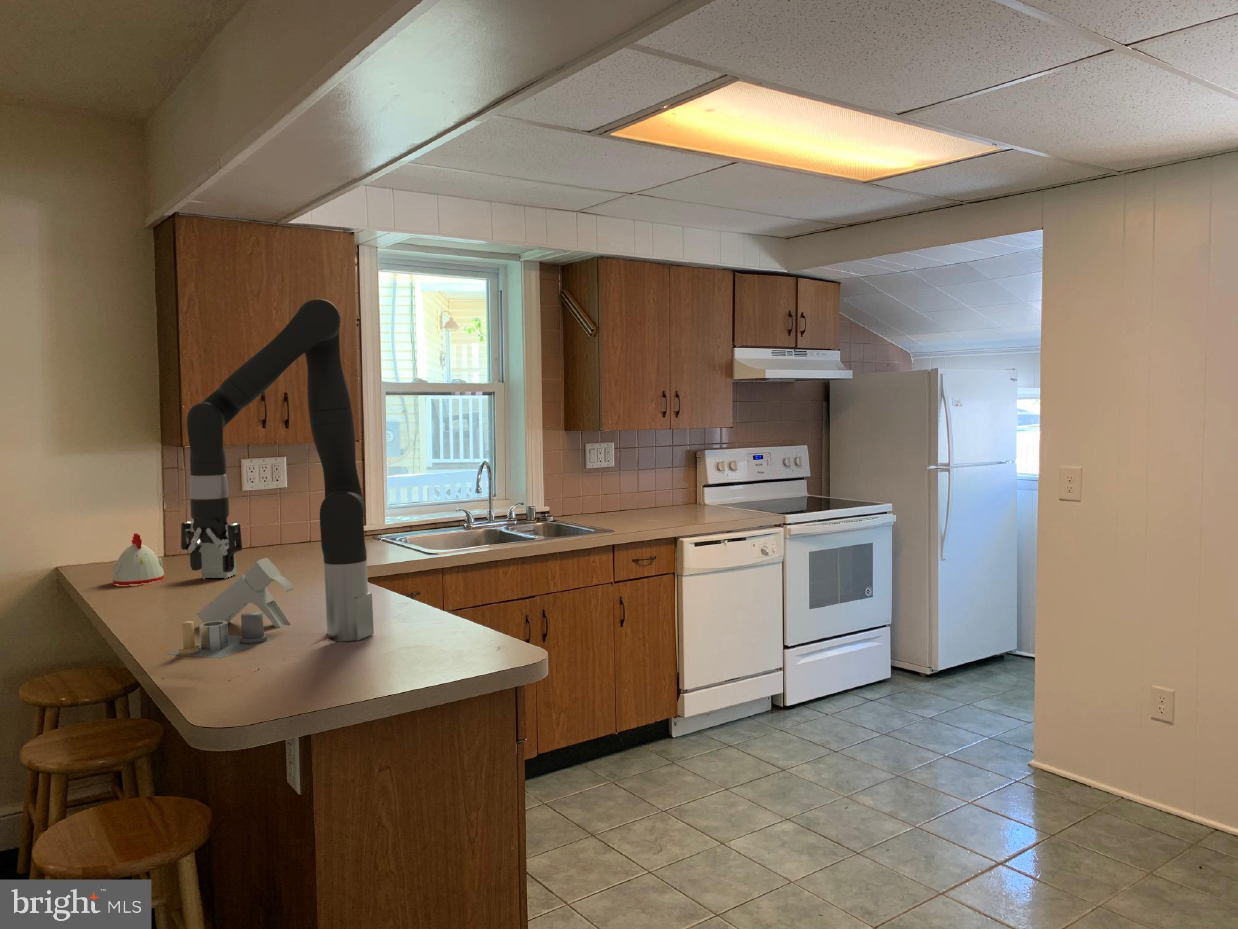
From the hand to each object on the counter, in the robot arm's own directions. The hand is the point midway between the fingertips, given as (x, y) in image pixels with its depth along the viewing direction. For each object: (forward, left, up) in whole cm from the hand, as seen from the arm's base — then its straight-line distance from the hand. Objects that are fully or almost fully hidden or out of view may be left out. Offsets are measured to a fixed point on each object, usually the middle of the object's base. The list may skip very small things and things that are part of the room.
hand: (212, 570), depth 196 cm
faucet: (+6, -16, -18) cm, 25 cm away
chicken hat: (+82, -58, -18) cm, 102 cm away
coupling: (-1, +2, -16) cm, 16 cm away
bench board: (-2, +1, -17) cm, 17 cm away
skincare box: (+62, -69, -18) cm, 94 cm away
